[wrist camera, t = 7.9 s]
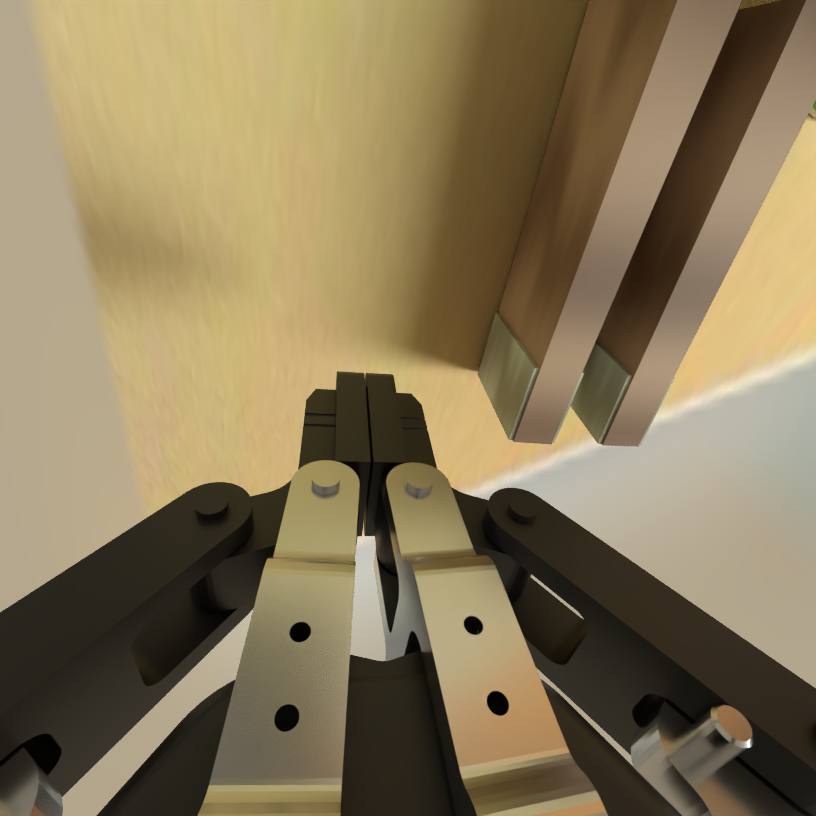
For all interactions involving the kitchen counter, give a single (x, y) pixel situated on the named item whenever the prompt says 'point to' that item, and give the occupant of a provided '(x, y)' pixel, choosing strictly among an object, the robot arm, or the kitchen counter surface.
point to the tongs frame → (701, 216)
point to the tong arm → (595, 197)
